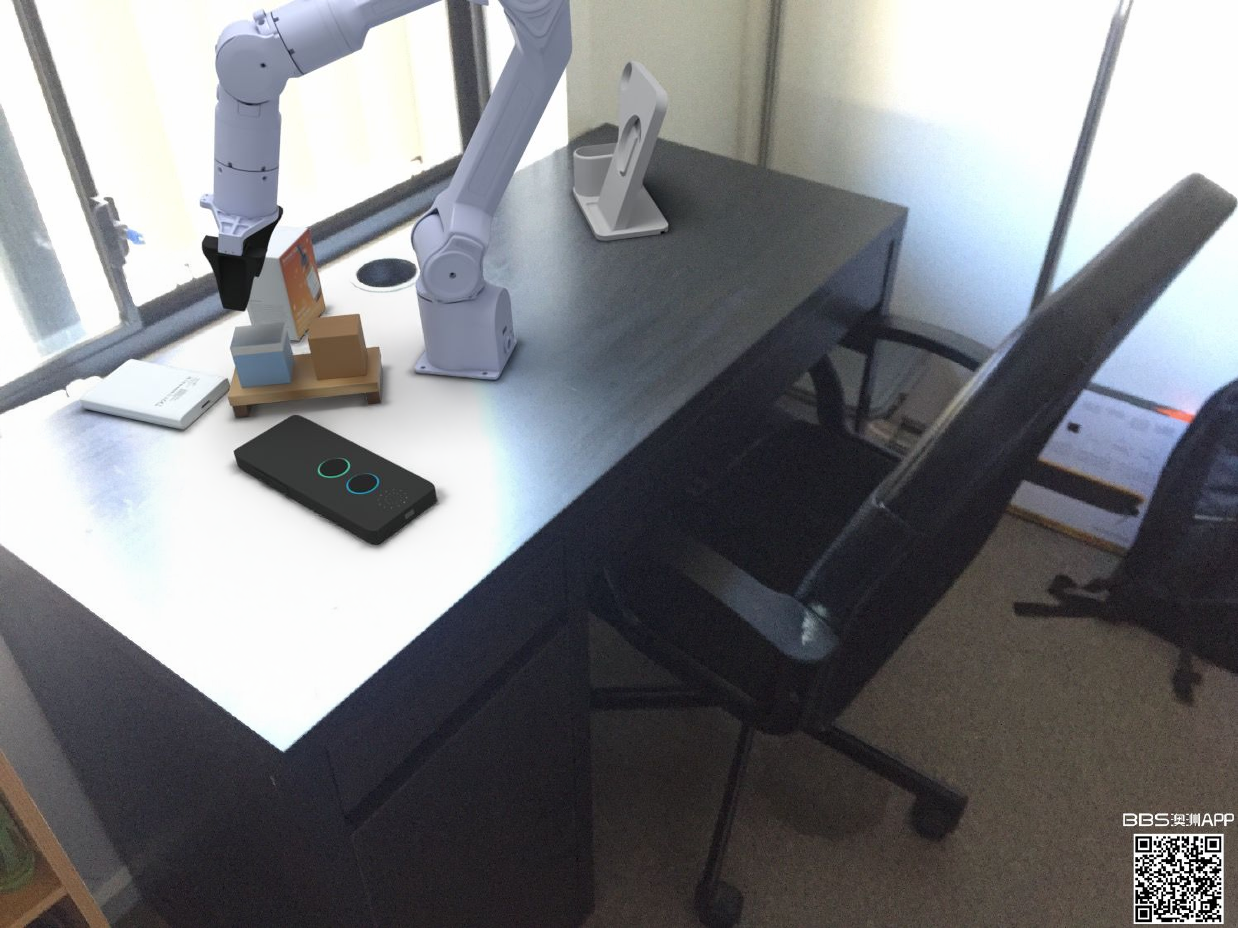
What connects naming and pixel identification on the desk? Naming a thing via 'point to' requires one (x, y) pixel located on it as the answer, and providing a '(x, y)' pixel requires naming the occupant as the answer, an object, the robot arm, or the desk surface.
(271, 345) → the blue carton
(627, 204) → the phone holder
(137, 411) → the hard drive
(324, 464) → the smart home device
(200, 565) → the desk surface
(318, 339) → the brown carton
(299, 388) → the wooden stand
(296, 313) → the small box
